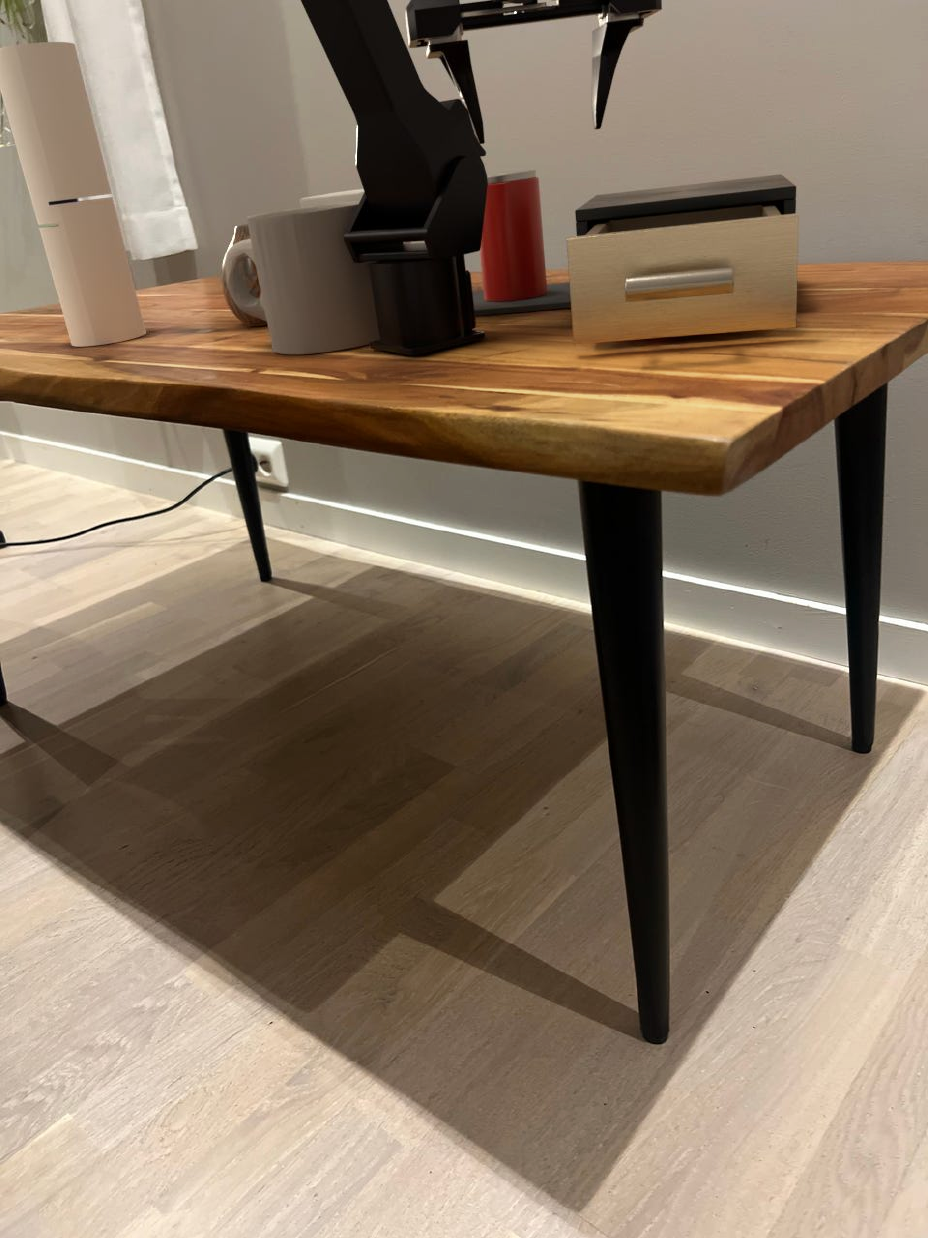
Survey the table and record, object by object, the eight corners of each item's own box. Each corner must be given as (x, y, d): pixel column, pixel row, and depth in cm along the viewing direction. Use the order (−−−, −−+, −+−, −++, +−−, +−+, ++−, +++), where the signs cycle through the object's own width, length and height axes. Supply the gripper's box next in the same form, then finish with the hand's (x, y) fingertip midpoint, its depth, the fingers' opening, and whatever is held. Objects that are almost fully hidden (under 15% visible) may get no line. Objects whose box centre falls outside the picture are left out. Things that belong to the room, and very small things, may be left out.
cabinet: (793, 312, 69) (796, 185, 65) (582, 329, 72) (574, 209, 69) (779, 281, 81) (781, 173, 78) (601, 297, 85) (595, 195, 81)
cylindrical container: (132, 341, 94) (56, 38, 83) (60, 349, 95) (-26, 50, 84) (155, 328, 100) (87, 46, 90) (87, 336, 101) (11, 56, 90)
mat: (575, 307, 81) (575, 301, 81) (435, 319, 84) (434, 313, 84) (590, 285, 92) (590, 279, 92) (465, 296, 95) (464, 291, 95)
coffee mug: (417, 327, 82) (399, 196, 77) (346, 353, 74) (322, 210, 70) (292, 330, 88) (269, 209, 84) (215, 355, 81) (186, 224, 77)
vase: (264, 329, 91) (244, 227, 87) (215, 329, 95) (194, 231, 91) (317, 315, 95) (300, 217, 92) (269, 315, 99) (251, 221, 96)
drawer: (801, 341, 56) (805, 221, 53) (565, 358, 59) (557, 246, 56) (781, 292, 71) (783, 197, 68) (594, 308, 74) (589, 218, 72)
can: (510, 303, 84) (498, 175, 80) (472, 300, 89) (458, 178, 84) (560, 291, 87) (551, 167, 83) (520, 289, 91) (510, 171, 87)
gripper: (393, -115, 64) (425, 150, 71) (679, -151, 64) (683, 117, 71) (393, -78, 74) (421, 151, 81) (640, -109, 74) (647, 122, 81)
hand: (539, 136), depth 78 cm, fingers open, 9 cm apart
